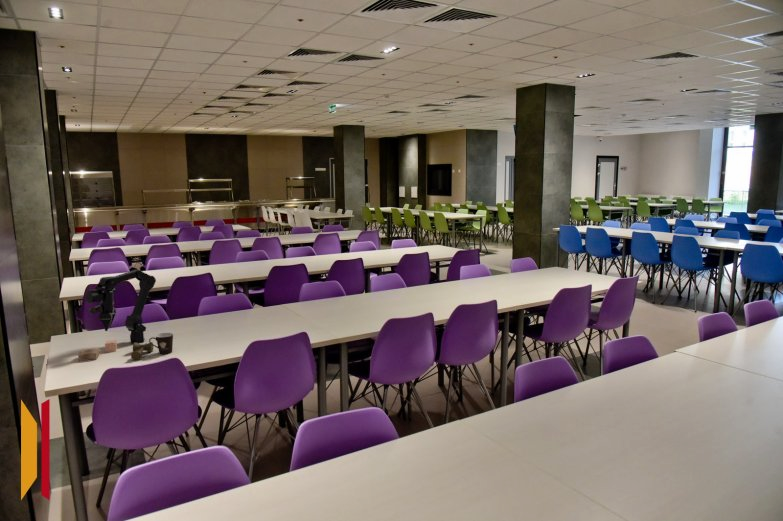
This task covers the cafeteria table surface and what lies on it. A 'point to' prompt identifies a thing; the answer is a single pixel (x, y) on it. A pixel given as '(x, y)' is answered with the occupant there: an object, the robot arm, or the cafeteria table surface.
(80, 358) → the walnut box
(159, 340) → the coffee mug
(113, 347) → the terracotta cube
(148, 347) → the kendama
